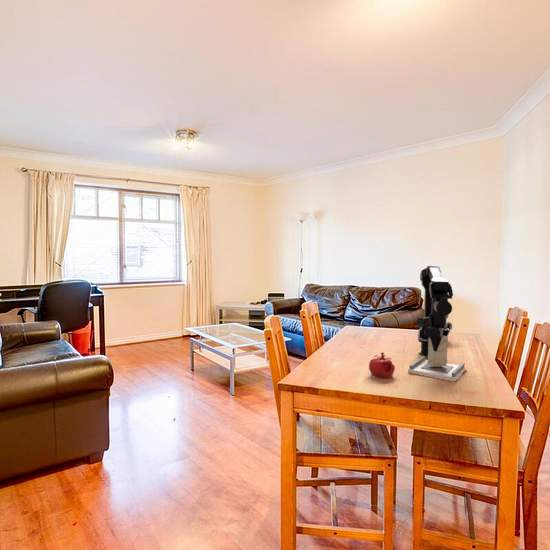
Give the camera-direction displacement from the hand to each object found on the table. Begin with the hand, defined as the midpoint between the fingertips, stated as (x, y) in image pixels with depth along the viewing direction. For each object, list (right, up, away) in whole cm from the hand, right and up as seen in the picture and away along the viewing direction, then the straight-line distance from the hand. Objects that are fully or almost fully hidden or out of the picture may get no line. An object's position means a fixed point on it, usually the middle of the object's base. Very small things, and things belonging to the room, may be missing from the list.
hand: (437, 349), depth 160 cm
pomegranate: (-24, -10, -5) cm, 27 cm away
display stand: (0, -9, +1) cm, 9 cm away
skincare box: (0, -7, +1) cm, 7 cm away
